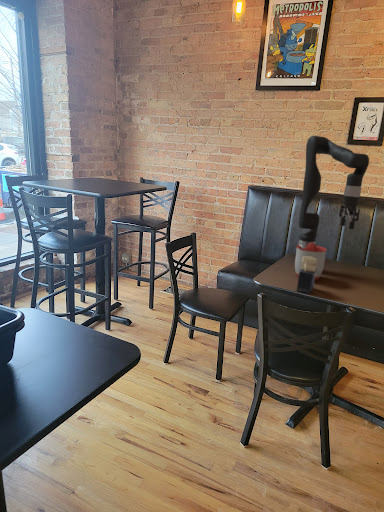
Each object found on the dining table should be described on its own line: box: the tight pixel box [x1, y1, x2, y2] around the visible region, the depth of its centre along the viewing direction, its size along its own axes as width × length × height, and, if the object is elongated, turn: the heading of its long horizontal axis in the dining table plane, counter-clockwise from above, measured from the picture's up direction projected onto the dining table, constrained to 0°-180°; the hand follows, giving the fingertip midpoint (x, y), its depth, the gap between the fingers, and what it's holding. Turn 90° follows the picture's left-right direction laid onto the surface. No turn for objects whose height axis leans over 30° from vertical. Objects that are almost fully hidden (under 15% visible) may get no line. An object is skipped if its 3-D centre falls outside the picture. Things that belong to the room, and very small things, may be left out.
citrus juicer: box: [294, 242, 327, 281], centre depth 195 cm, size 16×17×20 cm
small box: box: [296, 269, 316, 295], centre depth 176 cm, size 11×6×10 cm, turn 150°
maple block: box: [301, 257, 317, 271], centre depth 174 cm, size 5×5×6 cm
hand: (346, 227), depth 181 cm, fingers open, 8 cm apart
